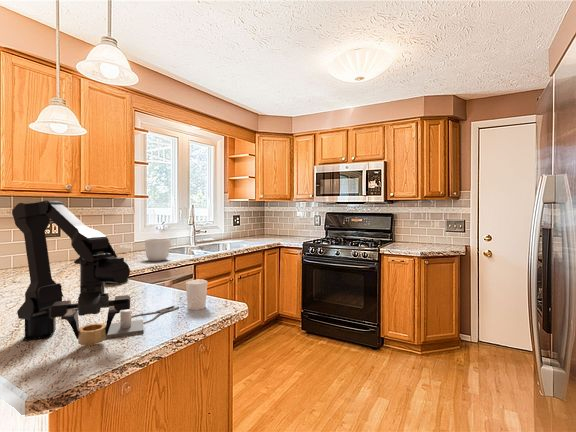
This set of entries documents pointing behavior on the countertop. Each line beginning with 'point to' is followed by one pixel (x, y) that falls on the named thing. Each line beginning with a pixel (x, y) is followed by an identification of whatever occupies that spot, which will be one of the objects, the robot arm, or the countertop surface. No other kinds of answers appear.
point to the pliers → (157, 312)
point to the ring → (91, 334)
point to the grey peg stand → (125, 326)
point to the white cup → (196, 294)
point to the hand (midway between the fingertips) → (92, 336)
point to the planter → (157, 249)
